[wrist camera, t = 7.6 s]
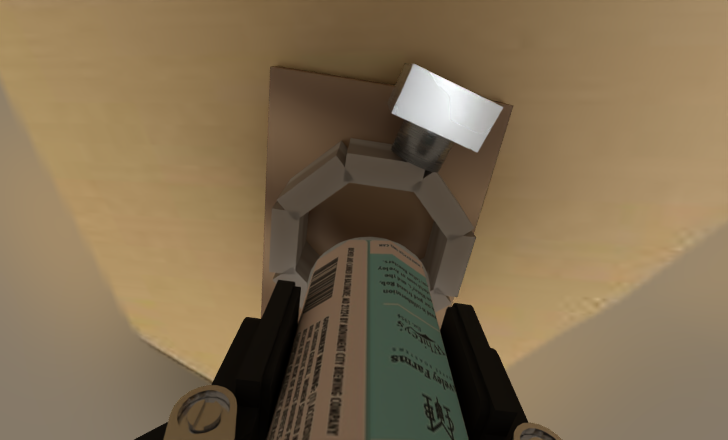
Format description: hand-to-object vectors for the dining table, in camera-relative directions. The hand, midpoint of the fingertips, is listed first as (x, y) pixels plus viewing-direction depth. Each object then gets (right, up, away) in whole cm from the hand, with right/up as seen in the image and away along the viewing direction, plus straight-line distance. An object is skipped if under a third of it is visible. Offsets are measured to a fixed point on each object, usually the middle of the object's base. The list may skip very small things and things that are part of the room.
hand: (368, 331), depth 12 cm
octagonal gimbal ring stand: (0, +4, +8) cm, 9 cm away
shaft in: (+3, +8, +5) cm, 10 cm away
